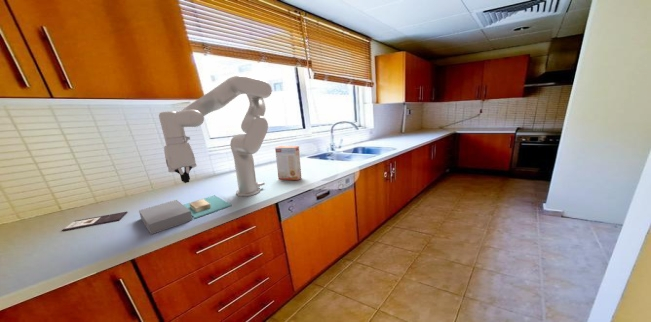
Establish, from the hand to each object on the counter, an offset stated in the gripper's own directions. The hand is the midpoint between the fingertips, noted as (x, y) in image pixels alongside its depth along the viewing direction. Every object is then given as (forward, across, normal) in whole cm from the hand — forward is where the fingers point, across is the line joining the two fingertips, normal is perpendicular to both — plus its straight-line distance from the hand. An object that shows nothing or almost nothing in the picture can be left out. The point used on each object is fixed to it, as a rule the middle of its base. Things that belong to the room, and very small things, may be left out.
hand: (186, 182), depth 98 cm
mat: (+14, -6, 0) cm, 15 cm away
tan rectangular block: (+11, -3, +1) cm, 12 cm away
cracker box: (+16, -56, 0) cm, 59 cm away
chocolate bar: (+13, +30, -24) cm, 41 cm away
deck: (+13, +10, 0) cm, 17 cm away
